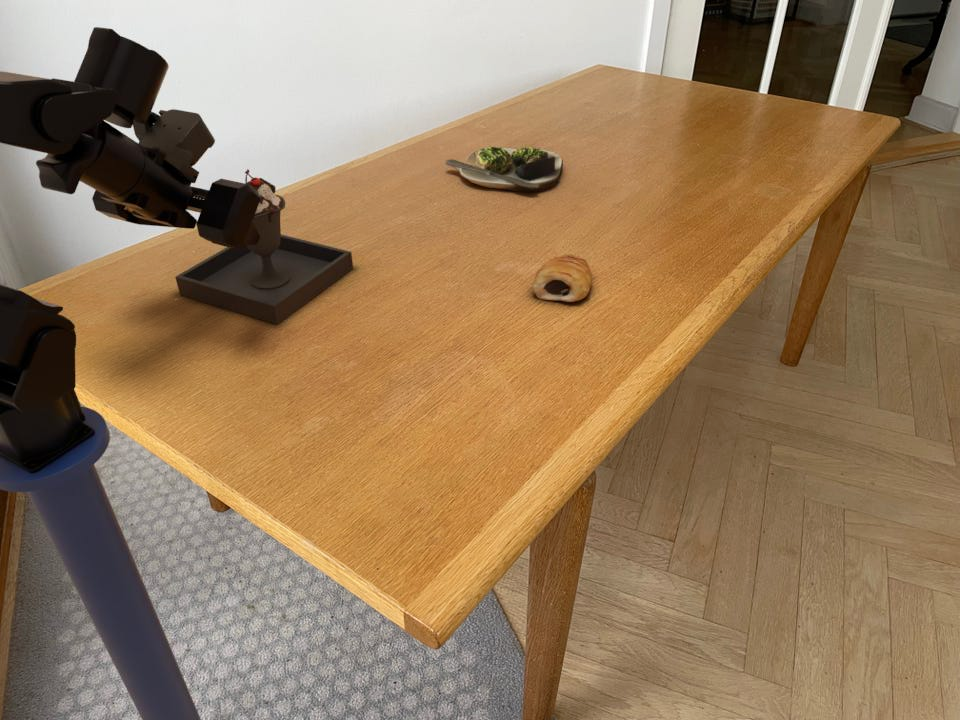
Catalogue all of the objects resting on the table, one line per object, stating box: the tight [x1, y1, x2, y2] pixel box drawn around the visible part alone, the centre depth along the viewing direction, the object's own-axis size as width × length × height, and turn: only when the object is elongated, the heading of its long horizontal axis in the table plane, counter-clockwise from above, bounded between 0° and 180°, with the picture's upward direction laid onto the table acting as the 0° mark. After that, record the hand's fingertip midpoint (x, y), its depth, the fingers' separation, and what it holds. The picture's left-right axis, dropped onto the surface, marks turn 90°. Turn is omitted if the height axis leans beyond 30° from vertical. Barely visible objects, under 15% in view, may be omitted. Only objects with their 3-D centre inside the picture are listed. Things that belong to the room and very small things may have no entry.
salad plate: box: [444, 145, 564, 193], centre depth 120 cm, size 19×18×5 cm
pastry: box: [531, 253, 593, 303], centre depth 90 cm, size 9×7×4 cm
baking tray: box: [175, 233, 354, 325], centre depth 91 cm, size 15×15×2 cm
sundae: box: [244, 168, 290, 289], centre depth 87 cm, size 7×7×15 cm
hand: (225, 231), depth 82 cm, fingers open, 9 cm apart
